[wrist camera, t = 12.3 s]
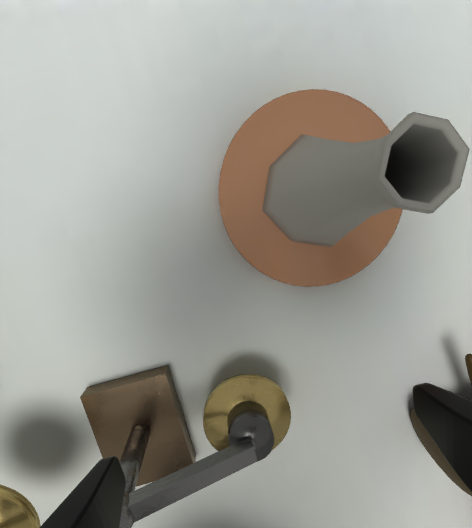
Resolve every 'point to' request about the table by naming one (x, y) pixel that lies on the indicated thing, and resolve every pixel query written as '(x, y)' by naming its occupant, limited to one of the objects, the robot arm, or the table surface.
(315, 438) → the table surface
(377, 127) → the terracotta dish
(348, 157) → the flask
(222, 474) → the balance
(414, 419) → the kendama
